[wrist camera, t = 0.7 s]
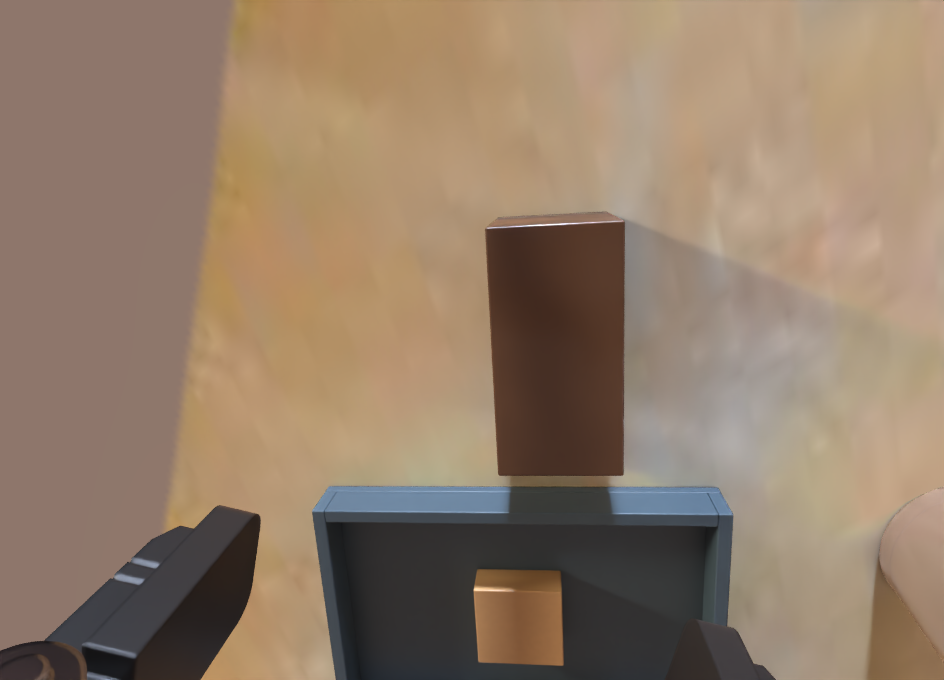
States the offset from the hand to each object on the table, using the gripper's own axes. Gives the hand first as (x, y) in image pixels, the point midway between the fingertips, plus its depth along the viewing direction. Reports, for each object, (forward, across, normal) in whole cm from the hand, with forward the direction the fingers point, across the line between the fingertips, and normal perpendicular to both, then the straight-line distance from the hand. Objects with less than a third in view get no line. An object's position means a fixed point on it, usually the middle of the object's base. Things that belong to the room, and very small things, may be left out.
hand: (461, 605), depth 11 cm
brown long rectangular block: (+16, -2, -2) cm, 16 cm away
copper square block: (+16, -4, +12) cm, 20 cm away
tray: (+16, -4, +12) cm, 20 cm away
